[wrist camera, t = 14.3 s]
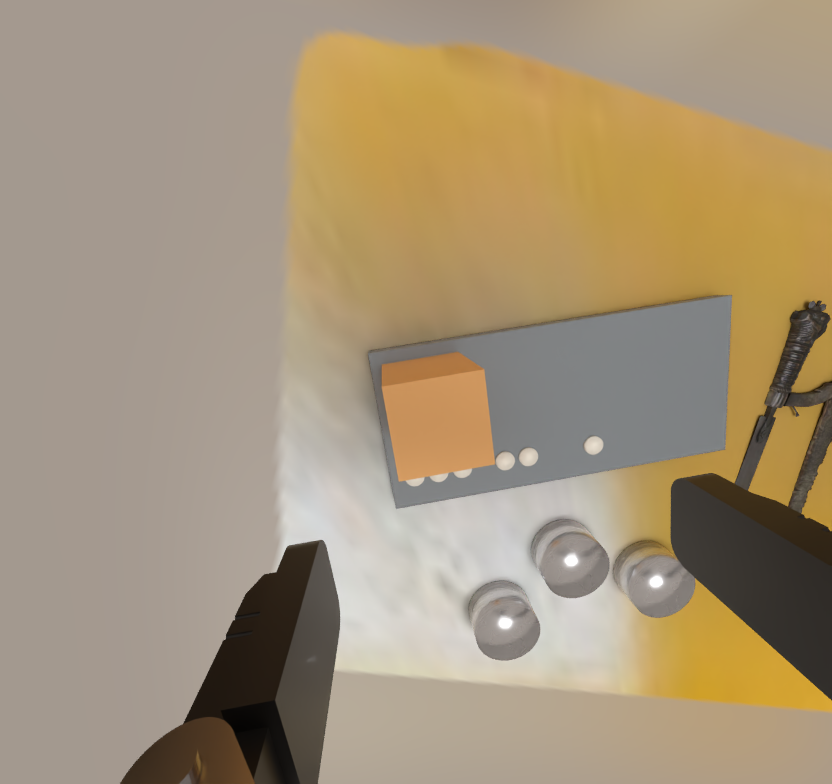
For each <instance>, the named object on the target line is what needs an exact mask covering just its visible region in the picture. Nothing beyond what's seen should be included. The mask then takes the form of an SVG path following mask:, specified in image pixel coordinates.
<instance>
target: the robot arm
mask: <svg viewBox="0 0 832 784" xmlns="http://www.w3.org/2000/svg"><path fill="white" fill-rule="evenodd" d="M671 544H672V548H673V551H674V553H675V555H676V557H677V559H678V560H679V562H680V563H681V565H682V566H683V567H684V568H685V569H686V570H687V571H688V572H689V573H690V574H692V575H693V576H694V577H695V578H696V579H697V580H698V581H699V582H700V583H702V584H703V585H704V586H705V587H706V588H707V589H708V590H709V591H710V592H712V593H713V594H714V595H715V596H716V597H717V598H718V599H719V600H720V601H722V602H723V603H724V604H725V605H726V606H727V607H728V608H729V609H730V610H732V611H733V612H734V613H735V614H736V615H737V616H738V617H739V618H741V619H742V620H743V621H744V622H745V623H746V624H747V625H748V626H749V627H751V628H752V629H753V630H754V631H755V632H756V633H757V634H758V635H759V636H761V637H762V638H763V639H764V640H765V641H766V642H767V643H768V644H769V645H771V646H772V647H773V648H774V649H775V650H776V651H777V652H778V653H779V654H781V655H782V656H783V657H784V658H785V659H786V660H787V661H788V662H790V663H791V664H792V665H793V666H794V667H795V668H796V669H797V670H798V671H800V672H801V673H802V674H803V675H804V676H805V677H806V678H807V679H808V680H810V681H811V682H812V683H813V684H814V685H815V686H816V687H817V688H818V689H820V690H821V691H822V692H823V693H824V694H825V695H826V696H827V697H828V698H830V699H831V700H832V531H829V529H828V527H826V526H824V525H822V524H820V523H818V522H816V521H814V520H812V519H810V518H808V519H806V518H805V517H804V515H803V514H801V513H799V512H797V511H795V510H793V509H791V508H789V507H787V506H785V505H783V504H781V503H779V502H777V501H775V500H772V499H769V498H765V497H762V496H759V495H756V494H753V493H751V492H749V491H747V490H745V489H743V488H741V487H740V486H738V485H736V484H734V483H732V482H730V481H728V480H726V479H724V478H722V477H721V476H719V475H716V474H713V473H709V474H703V475H697V476H691V477H686V478H680V479H677V480H675V481H674V482H673V484H672V487H671ZM339 630H340V608H339V600H338V595H337V591H336V586H335V582H334V578H333V573H332V569H331V565H330V561H329V556H328V552H327V548H326V545H325V543H324V541H323V540H318V541H312V542H307V543H301V544H295V545H289V546H288V547H287V548H286V550H285V553H284V555H283V557H282V560H281V562H280V565H279V567H278V570H277V572H275V573H270V574H265V575H263V576H262V577H261V578H260V579H259V580H258V582H257V583H256V584H255V585H254V586H253V587H252V588H251V589H250V590H249V591H248V592H247V593H246V595H245V597H244V599H243V601H242V603H241V605H240V607H239V609H238V611H237V613H236V615H235V620H234V621H233V622H232V624H231V626H230V628H229V630H228V632H227V634H226V640H224V641H223V642H222V645H221V647H220V649H219V651H218V653H217V655H216V657H215V659H214V661H213V663H212V665H211V667H210V670H209V671H208V674H207V676H206V678H205V680H204V682H203V684H202V686H201V688H200V690H199V692H198V694H197V696H196V698H195V701H194V703H193V705H192V707H191V709H190V711H189V713H188V715H187V717H186V719H185V721H184V723H183V724H182V725H180V726H178V727H176V728H175V729H173V730H171V731H170V732H168V733H167V734H165V735H164V736H163V737H161V738H160V739H159V740H157V741H156V742H155V743H154V744H153V745H152V746H151V747H149V748H148V749H147V750H146V751H145V752H144V754H142V755H141V756H140V757H139V759H138V760H137V761H136V762H135V763H134V764H133V766H132V767H131V768H130V769H129V771H128V772H127V773H126V775H125V776H124V778H123V779H122V781H121V782H120V784H318V777H319V770H320V763H321V756H322V749H323V742H324V735H325V728H326V721H327V714H328V707H329V700H330V693H331V686H332V680H333V672H334V666H335V659H336V652H337V645H338V638H339Z"/></svg>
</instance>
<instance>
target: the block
mask: <svg viewBox="0 0 832 784" xmlns="http://www.w3.org/2000/svg"><path fill="white" fill-rule="evenodd" d="M382 391H383V397H384V402H385V408H386V413H387V419H388V425H389V430H390V436H391V441H392V447H393V452H394V458H395V463H396V469H397V474H398V480H399V482H400V481H406V480H411V479H417V478H423V477H428V476H434V475H439V474H445V473H450V472H456V471H461V470H467V469H472V468H478V467H483V466H489V465H494V464H495V459H494V450H493V441H492V432H491V424H490V415H489V406H488V397H487V388H486V380H485V371H484V369H483V368H482V367H480V366H479V365H477V364H476V363H474V362H473V361H471V360H470V359H468V358H467V357H465V356H464V355H462V354H461V353H459V352H454V353H448V354H442V355H436V356H430V357H424V358H418V359H412V360H406V361H400V362H394V363H388V364H382Z"/></svg>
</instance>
